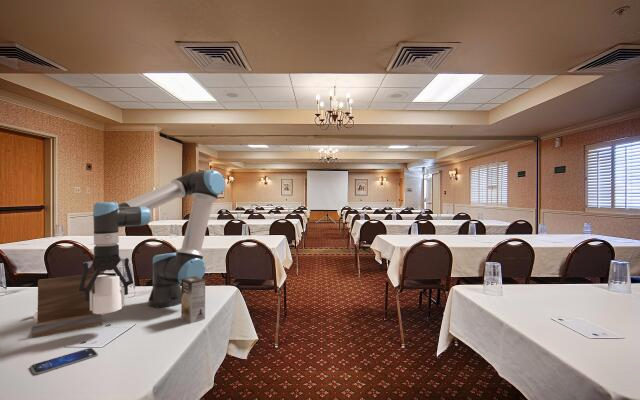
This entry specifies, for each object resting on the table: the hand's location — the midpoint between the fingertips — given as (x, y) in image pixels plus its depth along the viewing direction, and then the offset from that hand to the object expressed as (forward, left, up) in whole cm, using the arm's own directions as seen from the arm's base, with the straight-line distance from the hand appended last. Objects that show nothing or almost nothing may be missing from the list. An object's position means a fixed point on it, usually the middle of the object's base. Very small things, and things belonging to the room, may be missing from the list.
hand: (107, 306), depth 115 cm
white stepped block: (0, 0, -1) cm, 1 cm away
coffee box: (-27, -12, -10) cm, 31 cm away
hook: (+36, -22, -10) cm, 43 cm away
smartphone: (0, +21, -10) cm, 23 cm away
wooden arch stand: (+18, -9, -9) cm, 22 cm away
